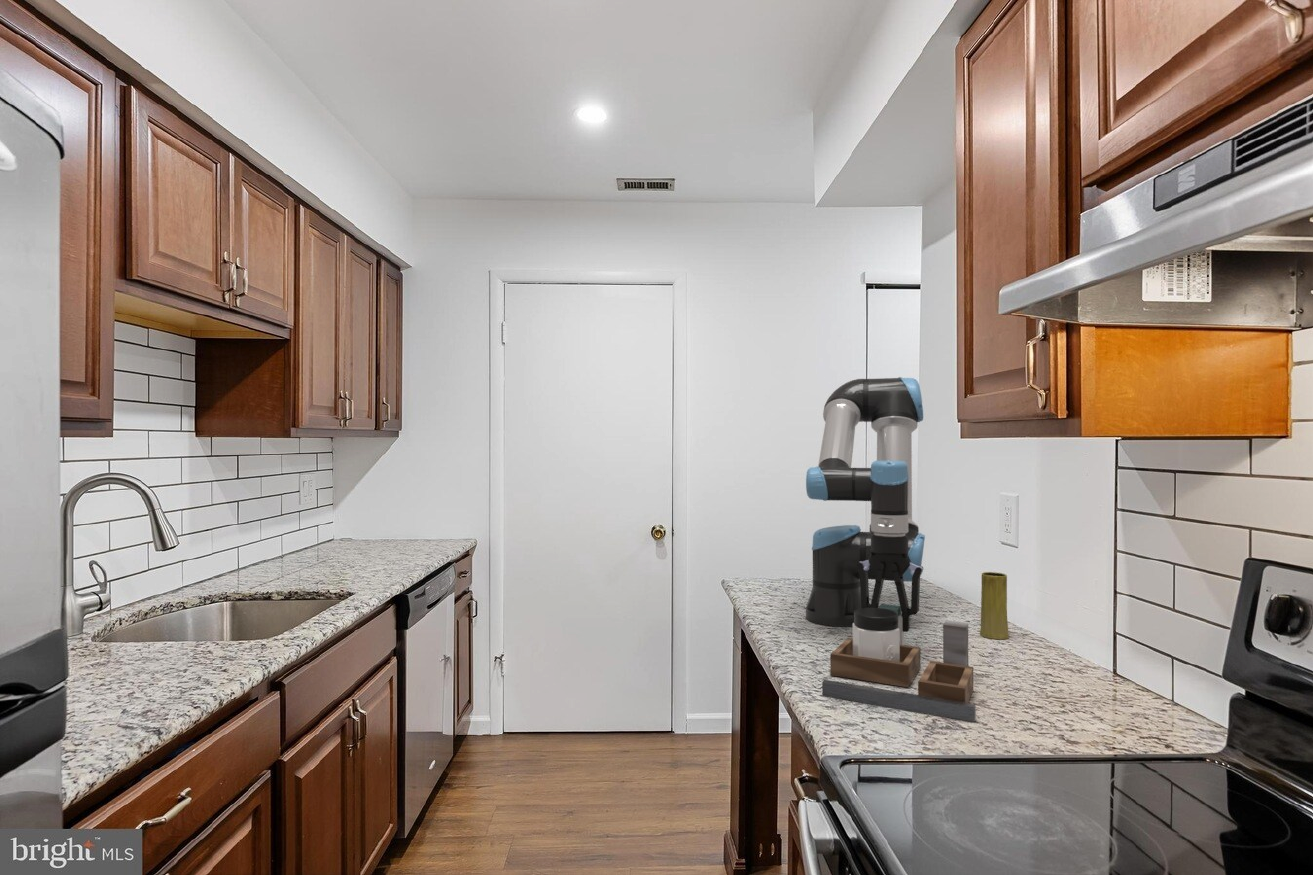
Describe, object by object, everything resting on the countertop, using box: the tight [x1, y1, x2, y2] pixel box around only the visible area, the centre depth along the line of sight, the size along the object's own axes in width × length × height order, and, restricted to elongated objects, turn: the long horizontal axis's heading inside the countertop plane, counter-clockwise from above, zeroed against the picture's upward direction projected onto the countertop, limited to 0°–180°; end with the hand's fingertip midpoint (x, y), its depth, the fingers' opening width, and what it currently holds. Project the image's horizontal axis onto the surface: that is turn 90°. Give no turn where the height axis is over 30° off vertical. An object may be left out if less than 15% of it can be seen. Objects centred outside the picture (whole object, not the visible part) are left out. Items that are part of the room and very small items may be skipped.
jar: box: [852, 608, 900, 662], centre depth 141 cm, size 9×8×12 cm
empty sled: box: [917, 619, 974, 703], centre depth 132 cm, size 21×7×10 cm, turn 151°
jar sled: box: [829, 603, 922, 688], centre depth 146 cm, size 21×14×10 cm
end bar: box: [821, 679, 977, 723], centre depth 124 cm, size 2×25×2 cm, turn 61°
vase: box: [979, 571, 1010, 640], centre depth 168 cm, size 6×6×14 cm
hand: (889, 644), depth 154 cm, fingers closed on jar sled, 4 cm apart
